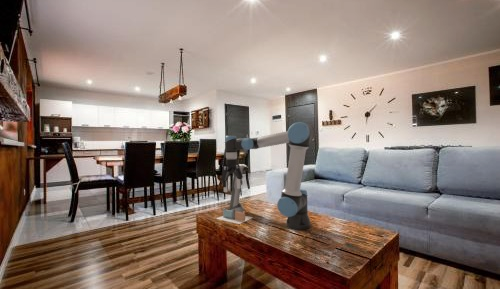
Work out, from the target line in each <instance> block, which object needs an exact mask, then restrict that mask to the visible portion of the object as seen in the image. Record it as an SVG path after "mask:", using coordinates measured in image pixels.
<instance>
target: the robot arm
mask: <svg viewBox="0 0 500 289" xmlns="http://www.w3.org/2000/svg"><path fill="white" fill-rule="evenodd" d="M315 136H316V129H315V127H314V126H313V125H312V124H310V123H306V122H302V121H298V122H297V121H296V122H293V123H292V124H291V125H290V126H289V128H288V130H286V131H282V132H277V133H272V134H268V135H267V134H266V135H263V136H262V135H261V136H258V137H253V138H251V137H244V138H243V137H241V138H237V136H236V135H226V136H225V141H224V143H225V144H224V145H225V158H226V159H225V165H226V166H223V171H222V173H221V177H220V180H219V181H220V182H222V187H223V192H224V193H228V192H229V191H228V189H229V188H228V179H229V177H230V175H231V174H232V173H233V175H234V174H235V175H236V177H237V178H238V179H237V188H238V189H242V185H241V179H242V180H243V174H242V173H241V170H240V166H241V165H240V164H238V159H237V158H238V151H241V150H242V151H248V150H258V149H260V148H267V147H274V146H278V145H284V144H288V146H289V147H290V149H289V150H290V151H289V159H288V165H287V173H286V178H285V179H286V180H285V186H284V188H283V189H281V195H280V198H278V201H277V205H276V206H277V210H278V211H279V213H280V214H281V215H282V216H285V217H287V219H286V227H287V228H289V229H292V230H298V231H300V230H301V231H303V230H308V229H310V228H311V226H312V225H311V223H312V222H311V220H310V217H309V214H308V208H309V207H308V196H309V195H308V192H307V190H306V189H301V184H302V177H303V172H304V166H305V157H306V154H307V153H306V152H307V150H308V149H309V148H310V144H311V142H312V141H313V140H314V139H315Z"/></svg>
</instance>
